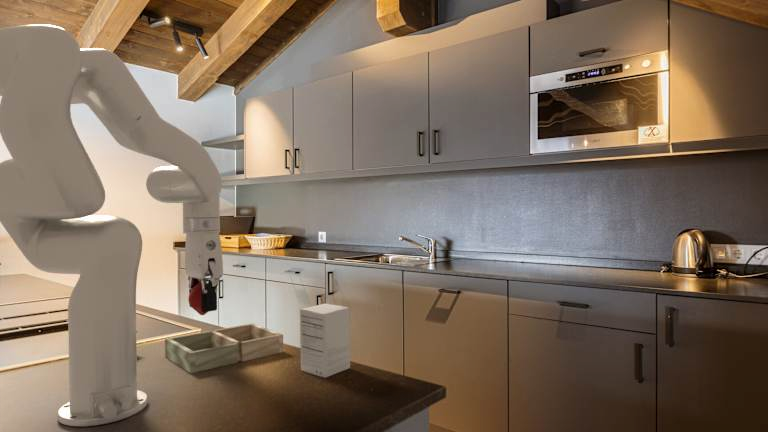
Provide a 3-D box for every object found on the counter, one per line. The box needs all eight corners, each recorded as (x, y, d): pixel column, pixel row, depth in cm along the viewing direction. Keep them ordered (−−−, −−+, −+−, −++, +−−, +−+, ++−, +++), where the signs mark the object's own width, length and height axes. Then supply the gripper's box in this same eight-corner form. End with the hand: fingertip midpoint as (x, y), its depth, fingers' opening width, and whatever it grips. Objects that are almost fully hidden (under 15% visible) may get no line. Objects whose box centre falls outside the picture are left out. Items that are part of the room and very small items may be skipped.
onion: (221, 312, 108) (221, 276, 108) (209, 318, 102) (209, 280, 102) (196, 311, 109) (196, 276, 108) (183, 317, 103) (183, 280, 103)
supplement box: (325, 361, 103) (325, 302, 103) (351, 368, 99) (350, 307, 98) (299, 370, 98) (298, 308, 97) (324, 378, 93) (324, 313, 93)
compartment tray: (283, 352, 110) (283, 334, 110) (190, 373, 96) (190, 353, 96) (252, 339, 121) (252, 323, 121) (165, 356, 107) (164, 338, 107)
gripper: (235, 226, 101) (236, 312, 102) (203, 224, 114) (204, 300, 114) (199, 228, 96) (201, 318, 97) (170, 225, 109) (171, 305, 109)
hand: (203, 307), depth 105 cm, fingers closed on onion, 5 cm apart
